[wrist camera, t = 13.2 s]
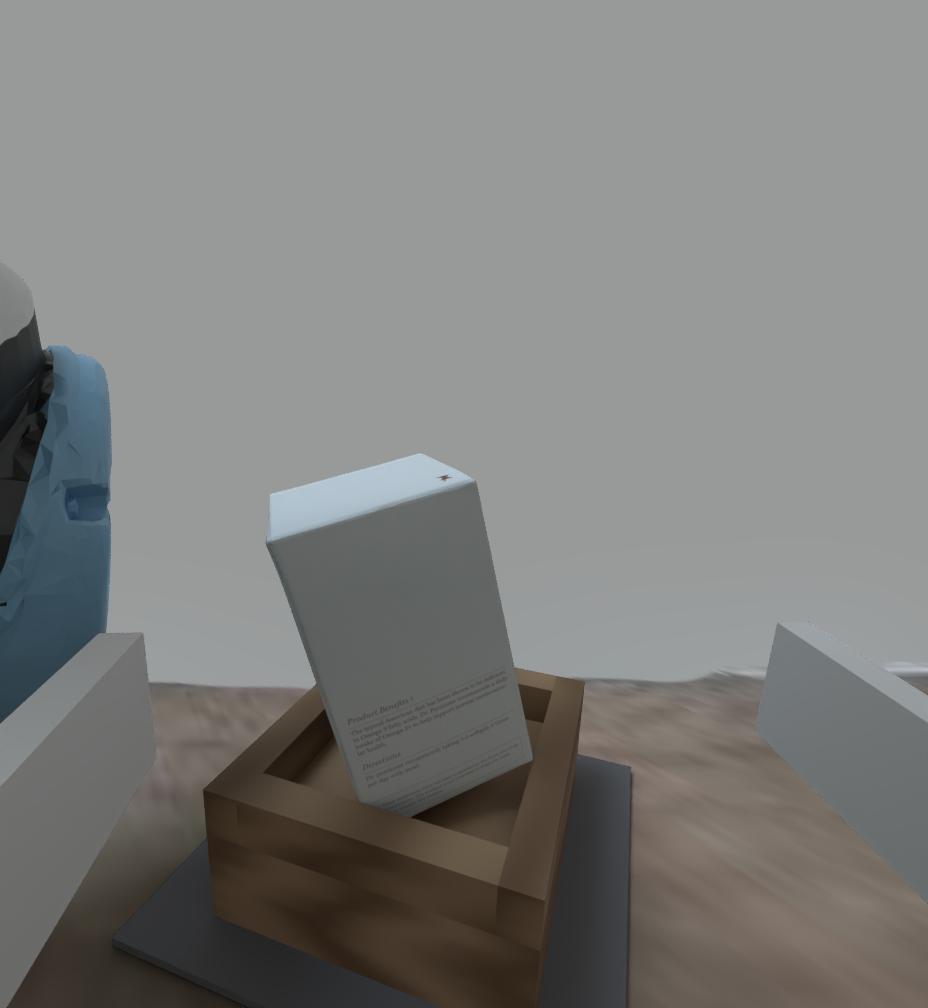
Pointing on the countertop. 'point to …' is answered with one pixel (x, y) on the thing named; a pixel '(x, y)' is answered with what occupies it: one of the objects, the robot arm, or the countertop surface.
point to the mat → (369, 1004)
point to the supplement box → (402, 629)
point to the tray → (400, 858)
